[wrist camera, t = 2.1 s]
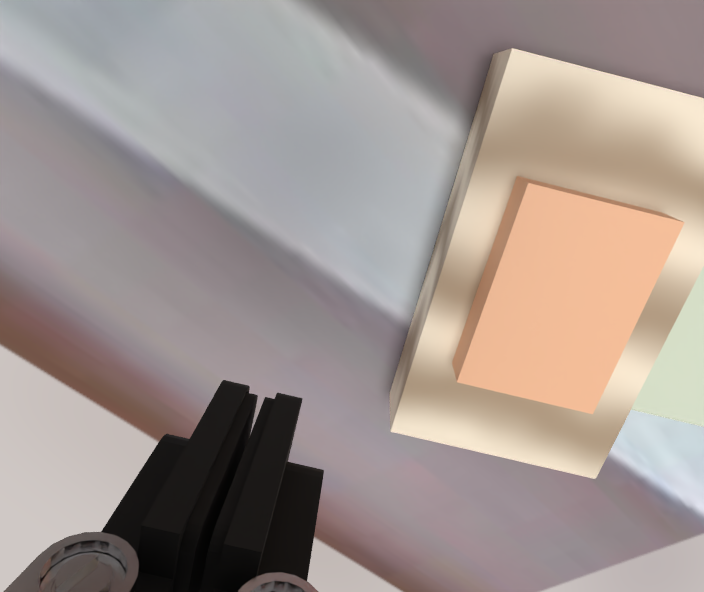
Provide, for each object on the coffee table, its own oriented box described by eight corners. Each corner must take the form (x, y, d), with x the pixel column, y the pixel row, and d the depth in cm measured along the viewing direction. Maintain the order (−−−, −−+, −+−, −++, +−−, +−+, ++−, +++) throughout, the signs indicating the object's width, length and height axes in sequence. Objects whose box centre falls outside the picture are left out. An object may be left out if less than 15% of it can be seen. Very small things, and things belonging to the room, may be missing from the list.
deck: (493, 54, 26) (512, 48, 23) (723, 114, 27) (779, 117, 23) (389, 393, 34) (390, 431, 30) (571, 436, 34) (595, 479, 30)
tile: (517, 175, 25) (528, 182, 23) (661, 212, 25) (684, 222, 23) (451, 362, 28) (457, 382, 26) (578, 393, 28) (592, 414, 27)
